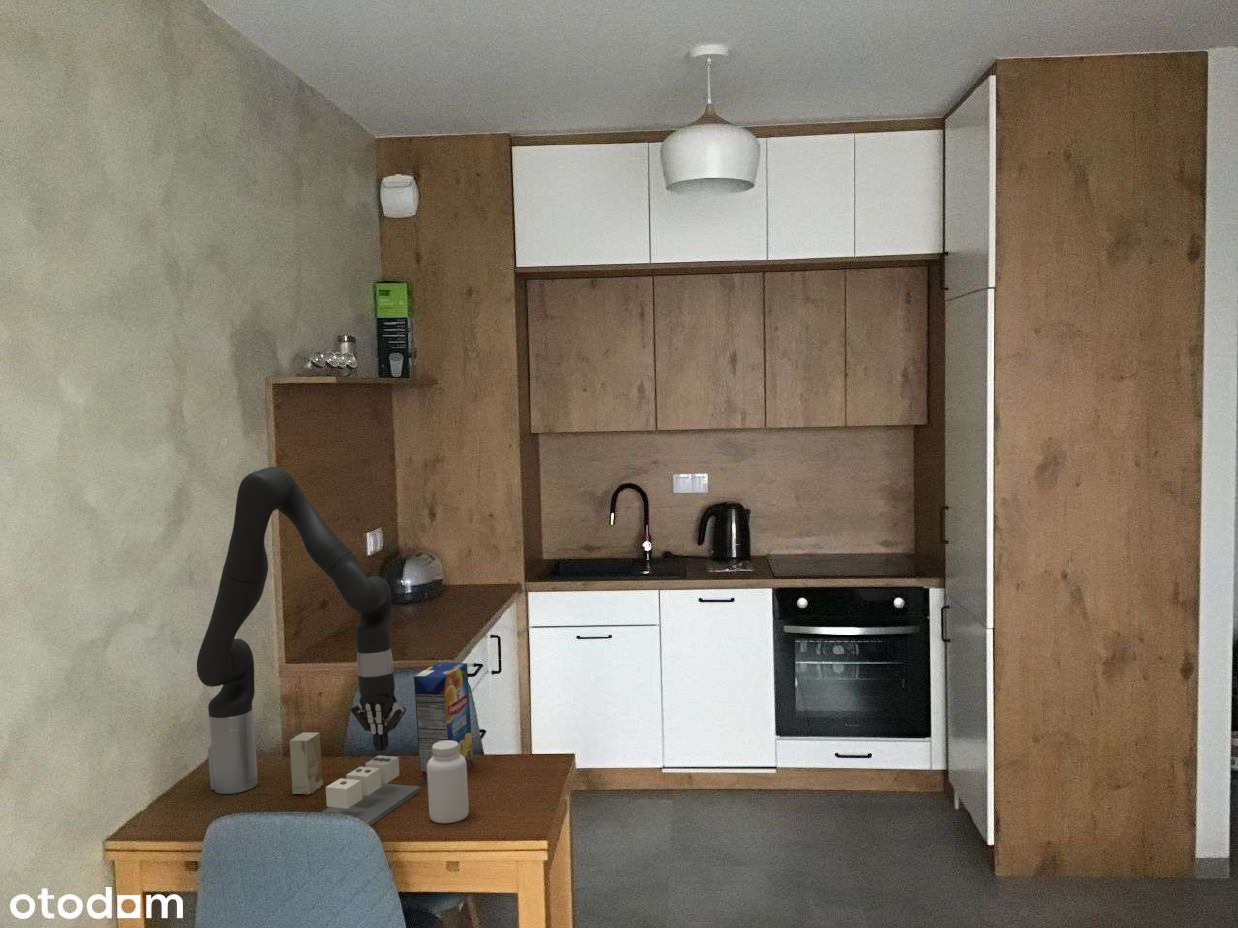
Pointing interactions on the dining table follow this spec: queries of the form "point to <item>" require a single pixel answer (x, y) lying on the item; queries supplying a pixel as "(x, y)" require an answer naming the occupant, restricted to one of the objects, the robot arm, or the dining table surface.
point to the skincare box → (306, 763)
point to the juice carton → (443, 711)
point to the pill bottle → (447, 783)
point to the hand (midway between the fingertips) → (381, 749)
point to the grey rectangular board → (378, 802)
